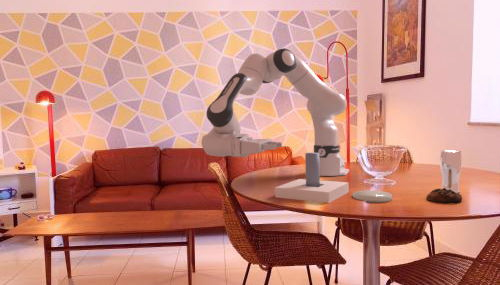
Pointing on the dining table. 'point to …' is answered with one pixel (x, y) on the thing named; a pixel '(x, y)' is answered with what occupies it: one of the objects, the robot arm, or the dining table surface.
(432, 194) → the bread roll
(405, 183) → the dining table surface
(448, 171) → the white tall piece
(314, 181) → the slate peg
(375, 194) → the sage trivet
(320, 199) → the pocket block
